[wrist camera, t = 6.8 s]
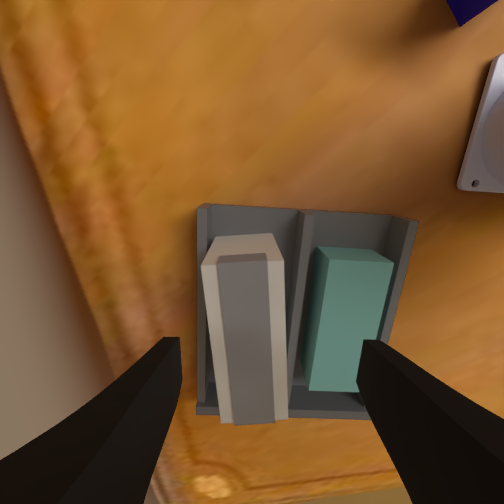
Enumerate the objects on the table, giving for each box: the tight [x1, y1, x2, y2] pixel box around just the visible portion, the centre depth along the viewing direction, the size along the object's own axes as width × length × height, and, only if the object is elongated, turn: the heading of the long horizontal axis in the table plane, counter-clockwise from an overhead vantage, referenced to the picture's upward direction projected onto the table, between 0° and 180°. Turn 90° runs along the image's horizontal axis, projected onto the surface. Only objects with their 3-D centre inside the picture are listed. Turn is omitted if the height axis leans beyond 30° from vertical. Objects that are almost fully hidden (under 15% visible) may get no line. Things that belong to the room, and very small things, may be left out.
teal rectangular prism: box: [300, 246, 394, 392], centre depth 18 cm, size 4×10×3 cm, turn 176°
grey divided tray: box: [196, 203, 419, 420], centre depth 19 cm, size 14×16×3 cm
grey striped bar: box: [201, 233, 288, 425], centre depth 16 cm, size 4×10×6 cm, turn 4°
